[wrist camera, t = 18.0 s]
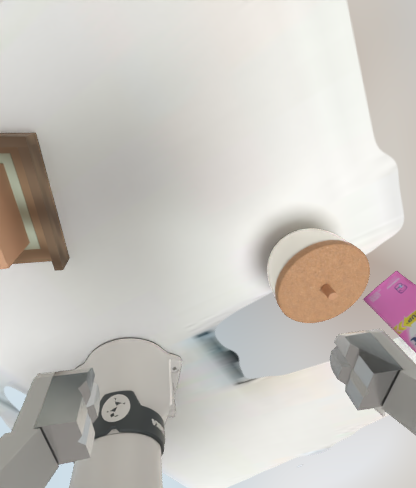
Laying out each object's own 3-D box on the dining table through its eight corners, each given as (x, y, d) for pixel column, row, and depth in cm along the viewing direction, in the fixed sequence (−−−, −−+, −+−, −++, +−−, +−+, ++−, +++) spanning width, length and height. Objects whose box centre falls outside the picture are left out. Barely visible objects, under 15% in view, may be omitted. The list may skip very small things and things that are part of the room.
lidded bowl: (321, 200, 40) (373, 233, 31) (339, 263, 47) (387, 307, 37) (243, 240, 41) (269, 284, 32) (271, 296, 48) (300, 347, 38)
